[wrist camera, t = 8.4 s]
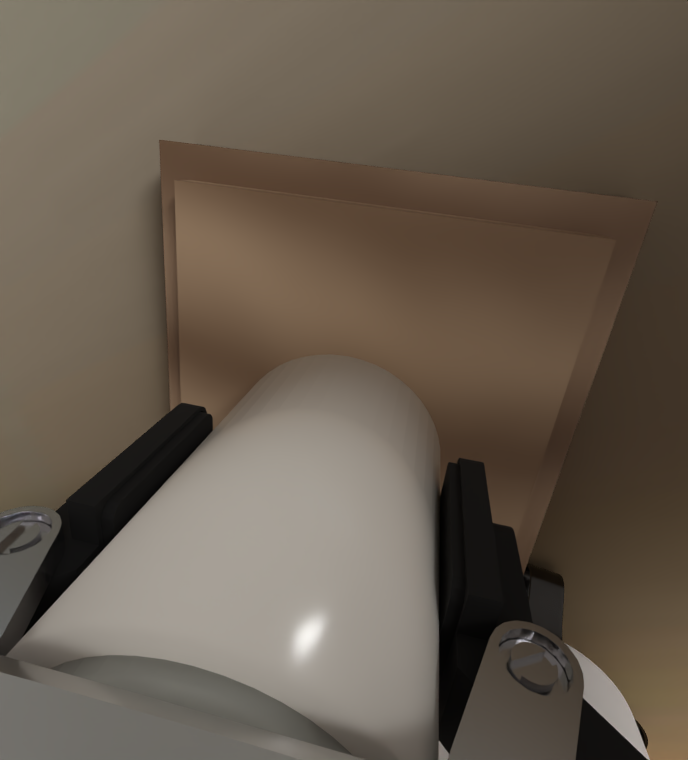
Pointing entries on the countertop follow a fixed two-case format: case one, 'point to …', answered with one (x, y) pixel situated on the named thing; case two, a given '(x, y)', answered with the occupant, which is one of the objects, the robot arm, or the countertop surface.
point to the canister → (280, 571)
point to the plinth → (401, 297)
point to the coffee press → (578, 658)
